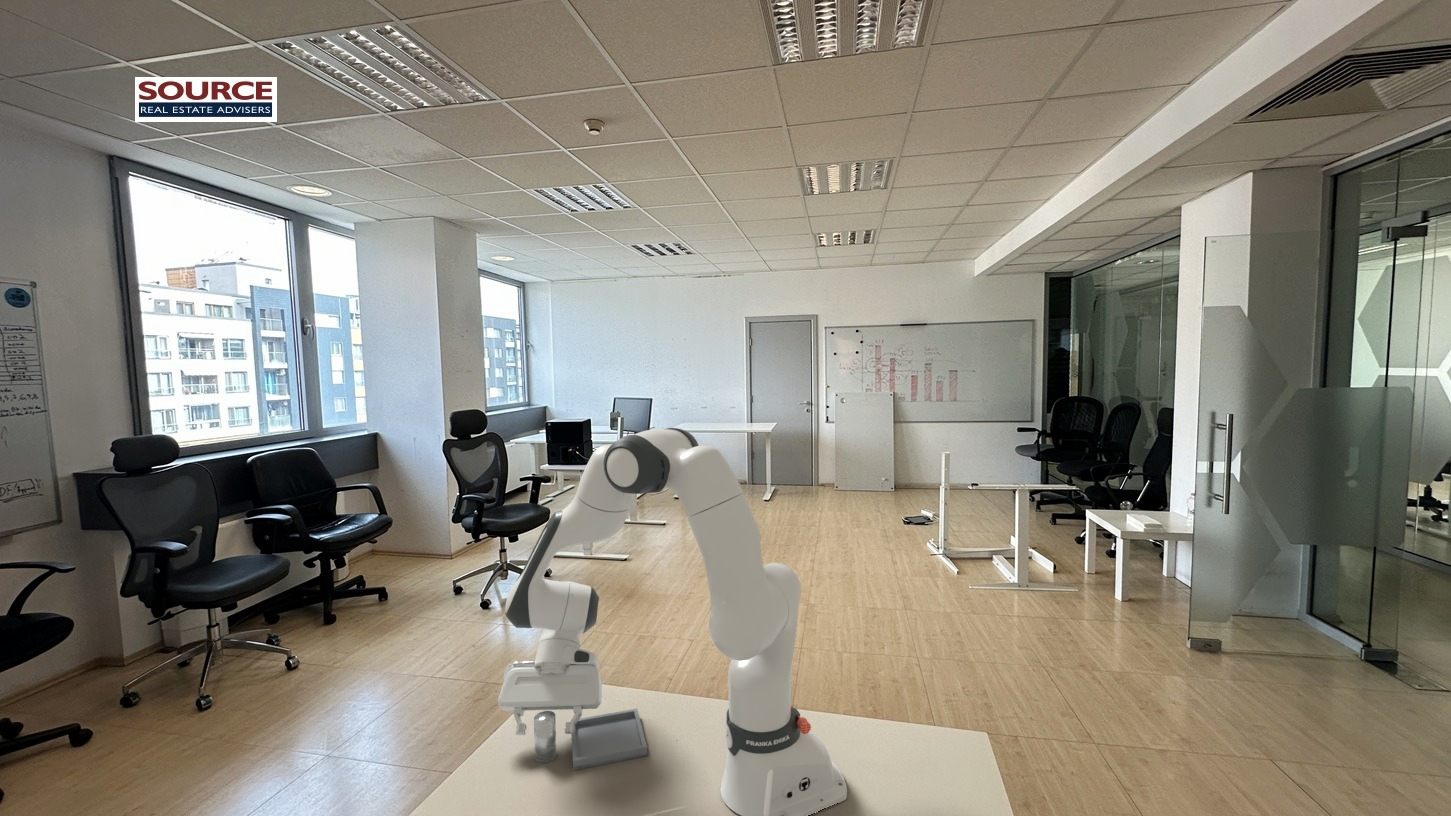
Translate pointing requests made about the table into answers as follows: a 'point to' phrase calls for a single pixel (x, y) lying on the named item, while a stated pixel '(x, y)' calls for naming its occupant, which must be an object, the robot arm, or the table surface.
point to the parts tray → (607, 739)
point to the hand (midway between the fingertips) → (544, 734)
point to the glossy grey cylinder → (545, 736)
